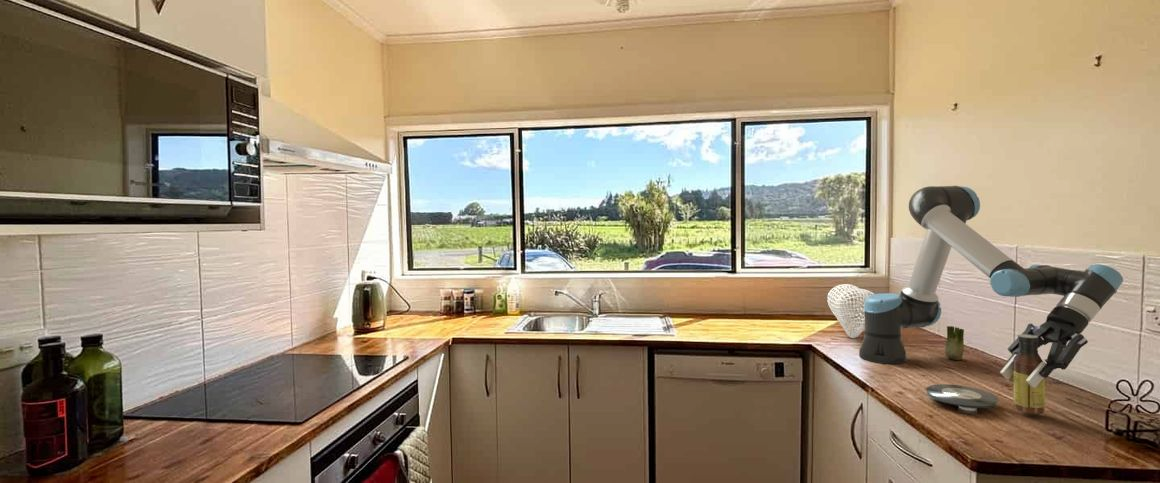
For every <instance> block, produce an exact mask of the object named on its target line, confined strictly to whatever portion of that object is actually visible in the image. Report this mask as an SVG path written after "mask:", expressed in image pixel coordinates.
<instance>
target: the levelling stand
mask: <svg viewBox="0 0 1160 483" xmlns="http://www.w3.org/2000/svg"><path fill="white" fill-rule="evenodd" d="M926 394H927V395H928V397H929V399H930V400H932V401H936V402H942V403H944V404H949V405H953V406H957V408H958V411H959V412H961V413H963V414H966V415H977V414H978V409H986V408H987V409H988V408H993V407H996V406H998V404H999V399H998V397H997V396H996V395H994V394H992V393H990V392H989V391H985V390H982V389H978V388H976V387H971V386H965V385H958V384H947V383H946V384H943V383H942V384H933V385H928V386H927V387H926Z"/></svg>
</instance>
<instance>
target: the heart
mask: <svg viewBox="0 0 1160 483" xmlns="http://www.w3.org/2000/svg"><path fill="white" fill-rule="evenodd" d="M874 294H875V293H874V292H872V291H871V290H868V289H863V288H860V287H858V286H857V285H854V284H850V283H841V284H837V285H835V286H834V287H832V288H831V289H830V290H829V292H828V293H827V299H826V301H827V304H828V307H829V309H830V311H831V312H832V313H833V315H834V317H835V318H836V319H837V321H838V323H839V324H840V325H841V327H842V329H843V330H844V331H845V333H846V335H848V337H850V338H851V339H856V338H858V337H859V336H860V335H861V334H862V333H863V332H864V331H865V312H864V306H865V300H866V298H867V297H868V296H870V295H874ZM852 299H853V300H852ZM852 304H853V305H852Z"/></svg>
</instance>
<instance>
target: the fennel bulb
mask: <svg viewBox="0 0 1160 483" xmlns="http://www.w3.org/2000/svg"><path fill="white" fill-rule="evenodd" d="M964 332H965V329H963V328H960V327H958V326H957V327H956V326H952V325H947V326H946V342H945V348H944V352H945V353H944V354H945V356H946V358H947V359H949V360H953V361H961V360H962V358H963V356H964V351H965V350H964V349H965V343H964V342H965V341H964V335H965V333H964Z"/></svg>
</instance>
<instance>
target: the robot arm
mask: <svg viewBox="0 0 1160 483" xmlns="http://www.w3.org/2000/svg"><path fill="white" fill-rule="evenodd" d="M980 209H981V202H980V198H979V196H978V194H977V193H976V192H975V190H973V189H972V188H970V187H968V186H961V185H944V186H942V185H941V186H939V185H938V186H935V185H934V186H930V185H929V186H926V187H925V186H924V187H922V188H920V189H918V190H917V191H915V192H914V193H913V194H912V195H911V197H910V199H909V202H908V210H909V211H908V212H909V213H910V215H911V217H912V218H913V219H914V221H915V222H916V223H917V224H918V225H919V226H921V228H923V229H925V233H924V235H923V236H924V237H923V240H922V243H921V246H920V249H919V253H918V256H917V258H916V261H915V264H914V267H913V271H912V272H911V275H910V279H909V282H908V284H907V285H906V286H902V289H901V291H900V294H898V293H891V292H889V293H888V292H887V293H874V295H872V294H871V295H869V296H868V297H867V298H866V300H865V299H864V301H865V305H864V307H863V308H864V312H865V315H864V316H865V324H864V325H865V329H864V336H863V338H862V339H863V340H862V342H861V345H860V348H859V351H858V356H859V358H861V359H863V360H865V361H869V362H873V363H879V364H903V363H906V362H907V360H908V358H907V357H908V355H907V352H906V349H905V346H904V343H903V340H902V330H903V329H904V330H905V329H912V328H919V329H921V328H922V329H923V328H925V327H929V326H933V325H934V324H936V323H937V322H938V321H939V319H940V318H941V315H942V307H941V303H940V302H939V299H940V298H939V296H938V294H937V293H936V292H937V289H938V286H939V283H940V281H941V277H942V275H943V272H944V270H945V267H946V263H947V260H948V257H949V255H950V253H951V249H952V248H953V249H954V250H955V251H956V252H958V253H959V254H960V255H961V256H963V257H964V258H965V259H966V261H968V262H969V263H971V264H972V265H974V267H976V268H977V269H978V270H979V271H980V272H982V273H983V274H984V275H985V276H986V277H988V278H989V284H990V286H991V288H992V291H993V292H994V293H996V294H997V295H999V296H1001V297H1009V298H1010V297H1011V298H1015V297H1016V298H1018V297H1024V296H1026V297H1027V296H1038V295H1056V296H1063V297H1062V298H1061V299H1060V300H1059V302H1058V303H1057V304H1056V305H1055V307H1053V309H1051V311H1050V312H1049V313H1048V314H1047V316H1046V320H1045V321H1044V322H1043V323H1042V324H1041V323H1040V325H1034V324H1033V323H1028V324H1027V325H1026V327H1025V329H1024V331H1023V332H1022V333H1021V334H1028V335H1034V336H1037V337H1038V341H1039V342H1038V347H1037V348H1038V349H1039V348H1040V347H1042V346H1046V345H1048V344H1049V343H1051V346H1050V349H1049V352H1048V354H1047V358H1045V359H1043V360H1044V361H1043V362H1041V363H1040V364H1039V365H1038V366H1037V368H1036V369H1035V370H1034V371H1033V372H1032V374H1031V375H1030V376H1029V377H1028V378H1027V379H1026V381H1027V382H1028V384H1029V385H1030V386H1031V387H1033V388H1035V387H1036V386H1037V385H1038V384H1039V383H1040V382H1041V380H1042V379H1043V378H1045V379H1047V378H1048V377H1049V376H1050V374H1052V372H1054V370H1056V369H1061V370H1066V369H1067V368H1068V367H1069V365H1070V364H1071V363H1072V362H1073V360H1074V358H1075V357H1076V355H1077V354H1078V353H1079V351H1080V350H1081V348H1082V347H1084V346H1085V345H1086V344H1088V342H1089V341H1088V340H1087V338H1086V337H1085V336H1084V335H1083V334H1082V333H1083V332H1084V330H1085V329H1086V328H1087V327H1088V325H1089V323H1091V322H1092V320H1093V319H1094V318H1095V317H1096V315H1097V314H1098V313H1099V312H1100V311H1101V309H1103V306H1104V305H1105V304H1107V302H1108V301H1109V300H1111V298H1112V297H1113V296H1114V295H1116V293H1117V292H1118V290H1119V289H1120V287H1121V285H1122V283H1123V282H1124V277H1123V275H1122V274H1121V273H1120V272H1119V271H1118V270H1117V269H1115V268H1113V267H1111V266H1108V265H1106V264H1099V263H1097V264H1091V265H1089V266H1088V267H1087V268H1085V270H1084V271H1082V270H1076V269H1069V268H1063V267H1055V266H1051V265H1047V264H1046V265H1041V264H1033V265H1030V267H1028V268H1026V267H1023V266H1021V265H1020V264H1019V263H1017V262H1016V261H1015V260H1013V259H1012V258H1010V257H1009V256H1008V255H1007V254H1006V253H1005V252H1002V251H1001V249H999V248H998V247H996V246H995V245H994V244H993V243H991V242H990V241H988V240H987V239H986V238H985V237H983V236H982V235H981V234H980V233H978V232H977V231H976V230H975V229H973V228H972V227H970V225H968V224H967V221H970V220H972V219H973V218H975V217H976V216H977V215H978V214H979V211H980ZM1007 350H1008V352H1010V354H1011V356H1009V357H1008V359H1007V360H1006V362H1005V365H1004V366H1003V368H1002V369H1001V370H1000V371H999V373H1000V375H1002V376H1003V377H1004V379H1006V380H1010V378H1011V377H1012V376H1013V369H1014V362H1013V359H1014V357H1015V356H1016V355H1017V354H1018V352H1019V341H1018V337H1017V338H1016V339H1015V340H1014V341H1013V342H1012V343H1011V344H1010V345H1009V346H1008V348H1007Z"/></svg>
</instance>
